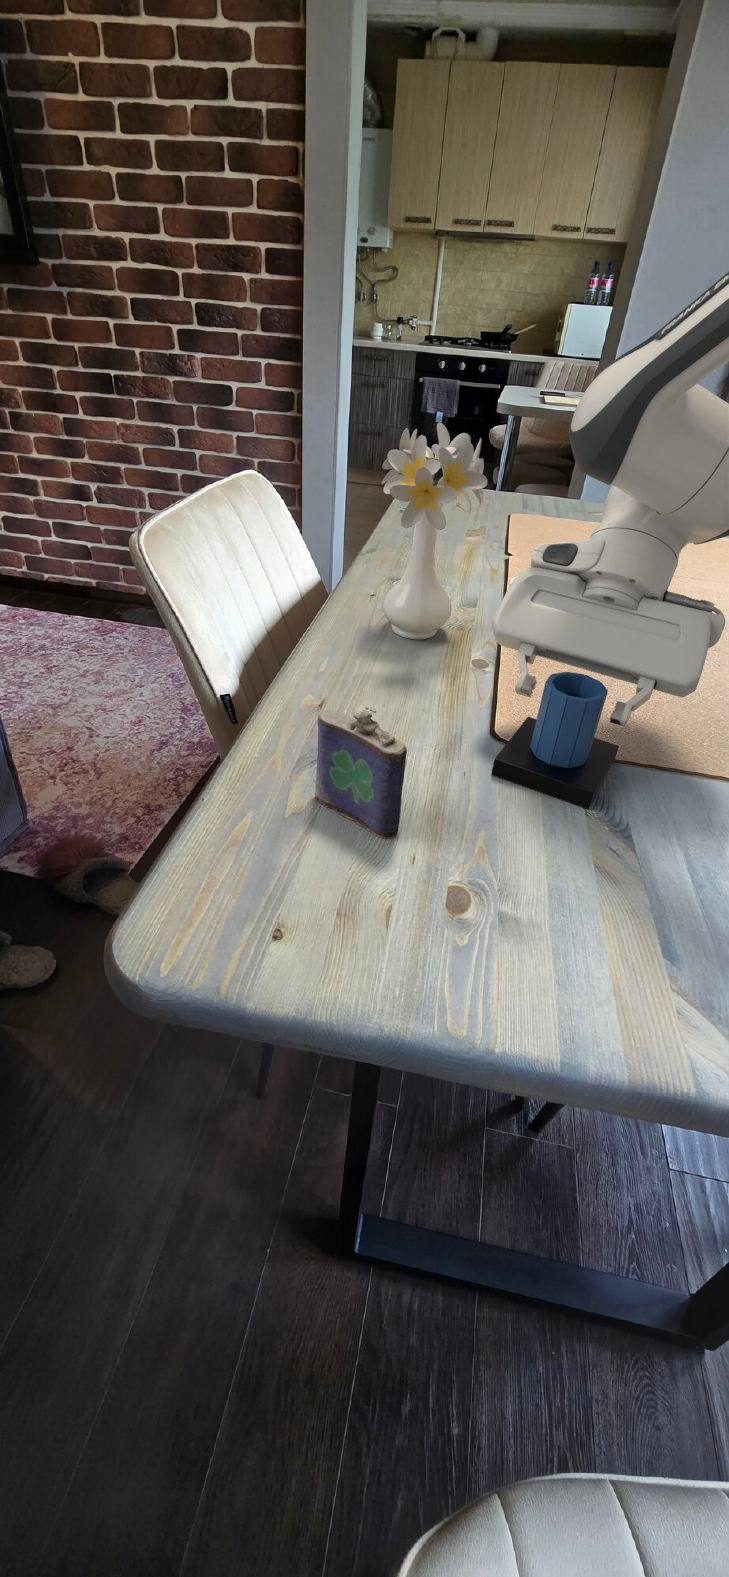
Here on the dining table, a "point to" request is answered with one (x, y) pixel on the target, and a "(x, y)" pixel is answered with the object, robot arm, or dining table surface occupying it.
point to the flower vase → (427, 523)
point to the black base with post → (554, 768)
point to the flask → (360, 771)
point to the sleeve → (567, 719)
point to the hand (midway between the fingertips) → (568, 708)
